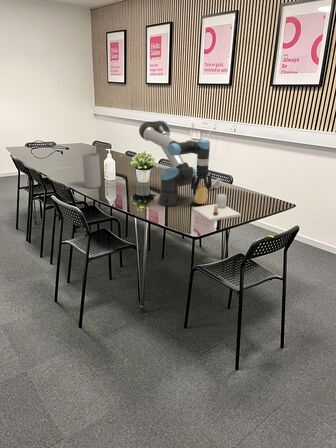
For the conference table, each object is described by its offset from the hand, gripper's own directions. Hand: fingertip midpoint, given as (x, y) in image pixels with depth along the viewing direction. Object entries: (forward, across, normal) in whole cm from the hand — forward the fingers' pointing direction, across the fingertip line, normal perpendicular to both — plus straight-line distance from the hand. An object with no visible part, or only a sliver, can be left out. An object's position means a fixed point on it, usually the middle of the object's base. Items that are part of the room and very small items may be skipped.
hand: (200, 198), depth 224 cm
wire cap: (+2, 0, 0) cm, 2 cm away
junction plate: (+5, +2, -16) cm, 17 cm away
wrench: (+5, +23, +28) cm, 36 cm away
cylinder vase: (+6, -56, +73) cm, 92 cm away
